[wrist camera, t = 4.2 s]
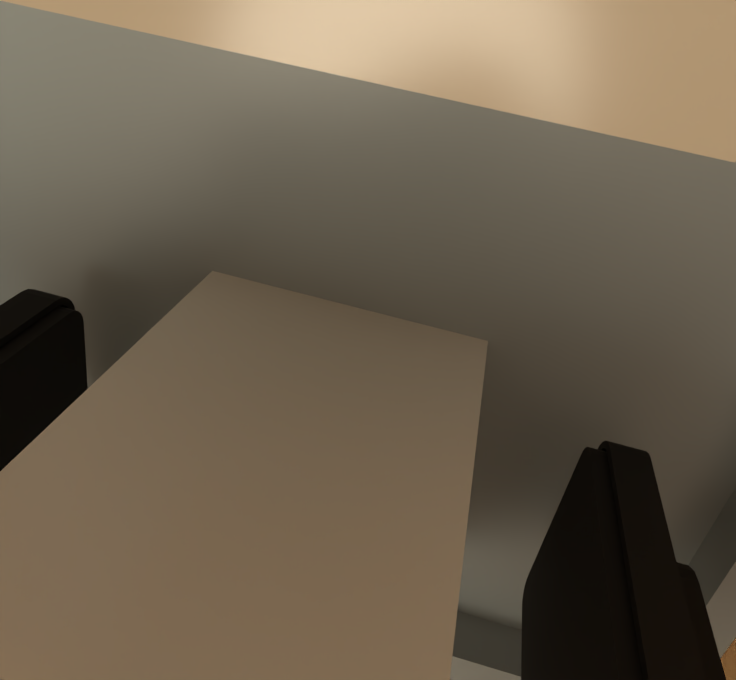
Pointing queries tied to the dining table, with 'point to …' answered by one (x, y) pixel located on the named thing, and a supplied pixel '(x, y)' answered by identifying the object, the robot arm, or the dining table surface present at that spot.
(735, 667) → the dining table surface
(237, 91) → the slate tray
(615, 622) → the robot arm
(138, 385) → the pale block
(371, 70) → the tan block
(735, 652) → the dining table surface
